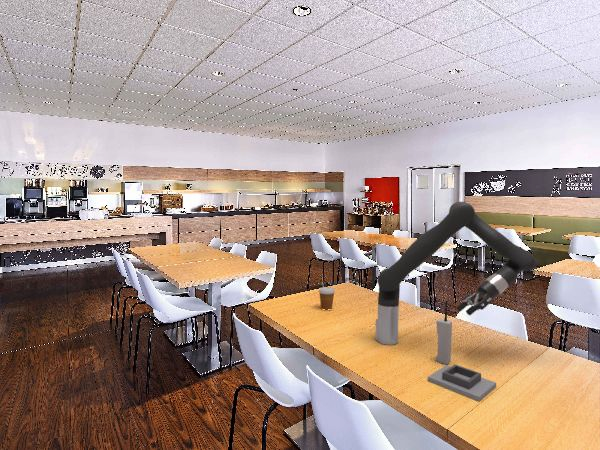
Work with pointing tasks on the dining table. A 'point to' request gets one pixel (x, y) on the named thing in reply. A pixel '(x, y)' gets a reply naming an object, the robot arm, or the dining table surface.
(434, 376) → the dock board
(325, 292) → the disposable coffee cup
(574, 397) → the dining table surface
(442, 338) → the vintage mobile phone
